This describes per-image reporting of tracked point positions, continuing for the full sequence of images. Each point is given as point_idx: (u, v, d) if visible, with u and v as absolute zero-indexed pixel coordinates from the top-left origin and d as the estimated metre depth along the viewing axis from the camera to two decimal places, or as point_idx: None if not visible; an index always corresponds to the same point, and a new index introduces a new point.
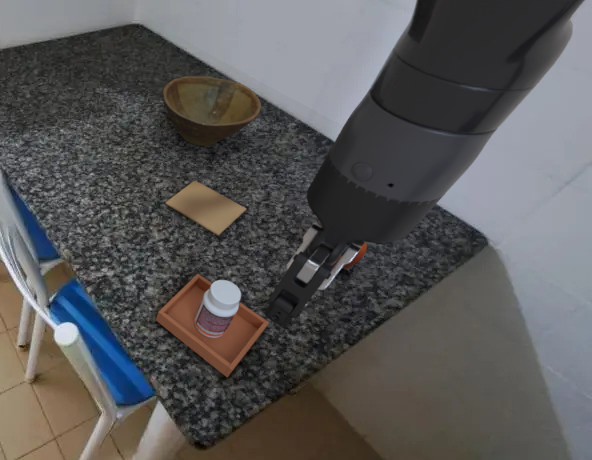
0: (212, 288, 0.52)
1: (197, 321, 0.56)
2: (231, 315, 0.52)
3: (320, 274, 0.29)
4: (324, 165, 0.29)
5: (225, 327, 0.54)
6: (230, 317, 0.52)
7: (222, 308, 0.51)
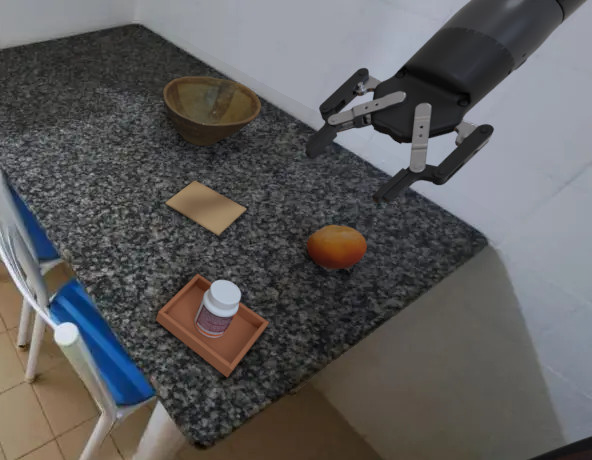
0: (212, 288, 0.52)
1: (197, 321, 0.56)
2: (231, 315, 0.52)
3: None
4: None
5: (225, 327, 0.54)
6: (230, 317, 0.52)
7: (222, 308, 0.51)
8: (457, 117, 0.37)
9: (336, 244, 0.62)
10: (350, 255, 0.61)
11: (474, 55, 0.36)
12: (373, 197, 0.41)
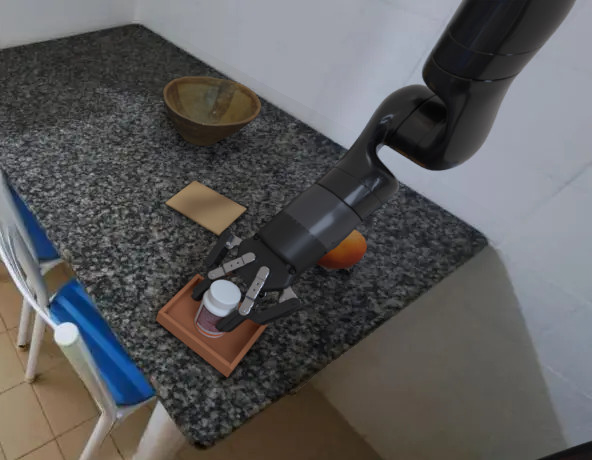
0: (212, 288, 0.52)
1: (197, 321, 0.56)
2: None
3: None
4: None
5: None
6: None
7: (222, 308, 0.51)
8: (285, 283, 0.48)
9: None
10: (350, 255, 0.61)
11: (295, 240, 0.47)
12: (216, 328, 0.52)
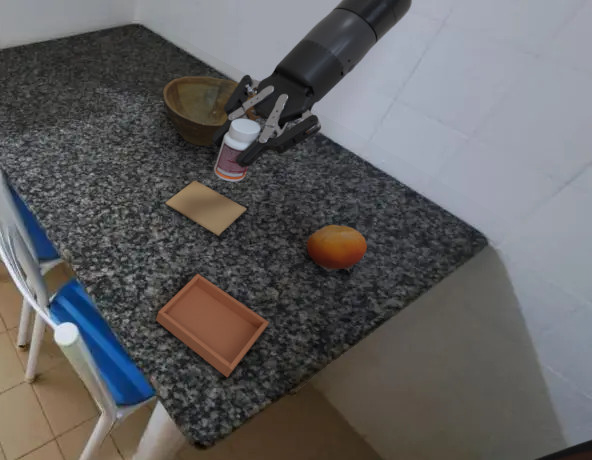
0: (233, 123, 0.55)
1: (217, 166, 0.59)
2: None
3: None
4: None
5: (244, 167, 0.57)
6: None
7: (242, 140, 0.54)
8: (303, 106, 0.51)
9: (336, 244, 0.62)
10: (350, 255, 0.61)
11: (313, 59, 0.49)
12: (236, 161, 0.55)
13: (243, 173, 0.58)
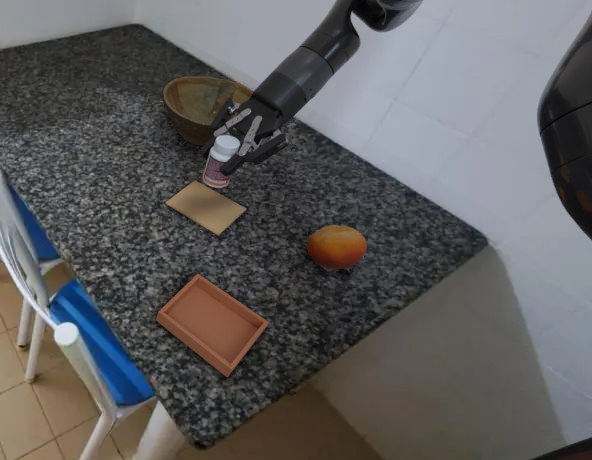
0: (217, 139, 0.66)
1: (205, 174, 0.70)
2: None
3: None
4: None
5: None
6: None
7: (225, 153, 0.65)
8: (274, 126, 0.62)
9: (336, 244, 0.62)
10: (350, 255, 0.61)
11: (281, 88, 0.60)
12: (220, 171, 0.66)
13: (226, 181, 0.69)
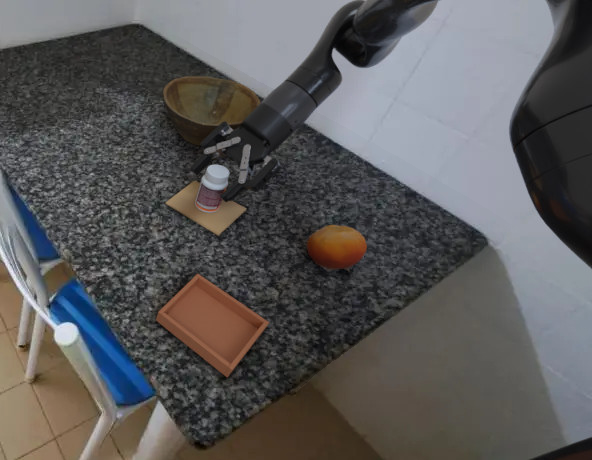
0: (208, 169, 0.70)
1: (197, 200, 0.74)
2: (222, 189, 0.70)
3: None
4: None
5: (218, 202, 0.73)
6: (221, 190, 0.70)
7: (215, 182, 0.70)
8: (263, 153, 0.66)
9: (336, 244, 0.62)
10: (350, 256, 0.61)
11: (268, 119, 0.64)
12: (221, 197, 0.69)
13: (217, 206, 0.74)
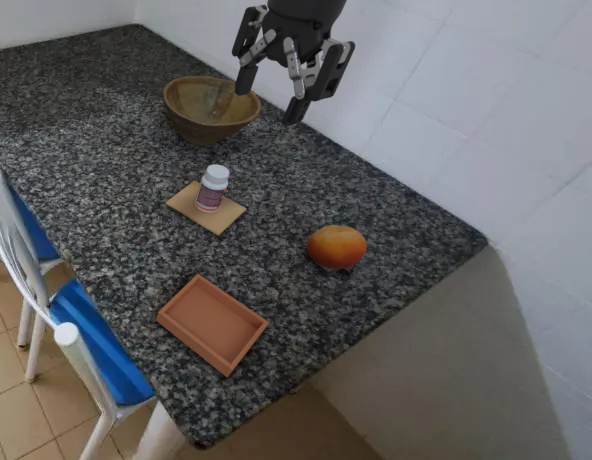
0: (208, 169, 0.70)
1: (197, 200, 0.74)
2: (222, 189, 0.70)
3: None
4: None
5: (218, 202, 0.73)
6: (221, 190, 0.70)
7: (215, 182, 0.70)
8: (315, 41, 0.41)
9: (336, 244, 0.62)
10: (350, 256, 0.61)
11: None
12: None
13: (217, 206, 0.74)
